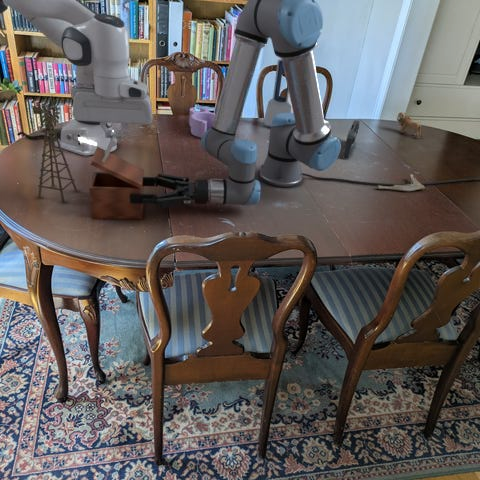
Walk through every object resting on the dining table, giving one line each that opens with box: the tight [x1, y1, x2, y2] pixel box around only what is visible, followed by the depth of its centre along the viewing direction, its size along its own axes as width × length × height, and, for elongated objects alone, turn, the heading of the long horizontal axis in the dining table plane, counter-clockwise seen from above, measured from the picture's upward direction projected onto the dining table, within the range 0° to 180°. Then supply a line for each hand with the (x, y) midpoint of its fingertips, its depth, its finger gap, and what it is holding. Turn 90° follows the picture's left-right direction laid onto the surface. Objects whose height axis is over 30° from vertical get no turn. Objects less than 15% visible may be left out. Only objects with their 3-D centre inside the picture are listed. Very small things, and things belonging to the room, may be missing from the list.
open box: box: [88, 171, 144, 220], centre depth 136 cm, size 14×10×10 cm
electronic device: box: [263, 57, 293, 128], centre depth 205 cm, size 12×8×30 cm, turn 71°
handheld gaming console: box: [342, 119, 361, 159], centre depth 194 cm, size 23×3×10 cm, turn 161°
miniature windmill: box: [31, 95, 78, 203], centre depth 135 cm, size 9×8×30 cm
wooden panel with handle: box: [90, 131, 145, 188], centre depth 129 cm, size 14×10×9 cm
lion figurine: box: [396, 111, 424, 139], centre depth 219 cm, size 15×5×9 cm, turn 50°
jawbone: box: [376, 173, 426, 193], centre depth 169 cm, size 9×20×2 cm, turn 126°
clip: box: [188, 106, 216, 139], centre depth 199 cm, size 20×12×7 cm, turn 23°
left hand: (114, 137), depth 126 cm, fingers closed
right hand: (131, 189), depth 135 cm, fingers closed on open box, 10 cm apart
